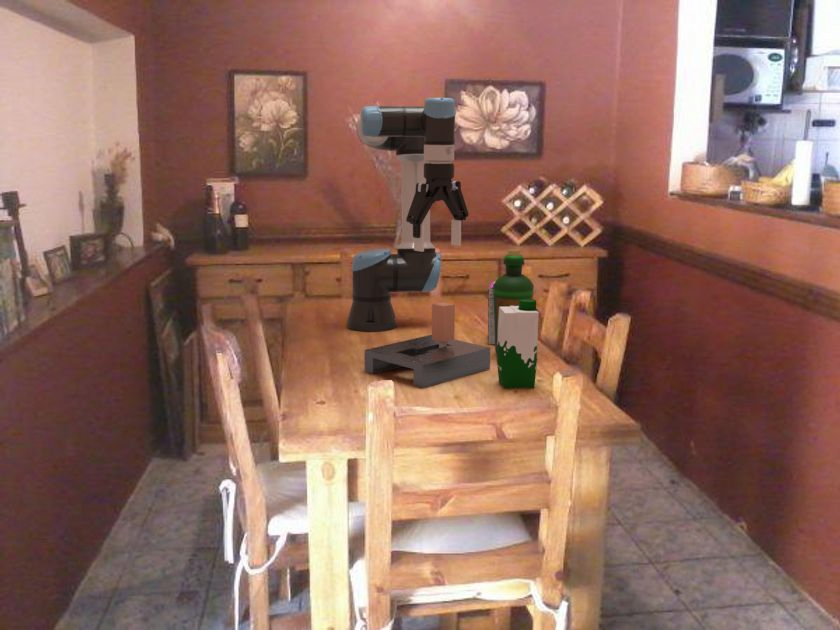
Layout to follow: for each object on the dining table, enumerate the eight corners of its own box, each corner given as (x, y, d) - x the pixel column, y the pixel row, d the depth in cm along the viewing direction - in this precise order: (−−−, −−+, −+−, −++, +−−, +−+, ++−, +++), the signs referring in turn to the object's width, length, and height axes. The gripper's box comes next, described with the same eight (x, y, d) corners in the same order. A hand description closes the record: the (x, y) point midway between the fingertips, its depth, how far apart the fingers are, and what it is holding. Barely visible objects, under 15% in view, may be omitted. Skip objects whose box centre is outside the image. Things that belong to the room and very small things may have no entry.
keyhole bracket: (364, 371, 207) (364, 349, 206) (432, 354, 224) (432, 334, 223) (422, 388, 193) (422, 365, 192) (489, 368, 210) (490, 347, 209)
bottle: (505, 361, 217) (508, 253, 211) (484, 352, 226) (486, 249, 221) (539, 357, 222) (543, 251, 216) (517, 348, 231) (519, 246, 225)
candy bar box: (491, 335, 246) (492, 280, 242) (508, 336, 245) (509, 281, 242) (486, 344, 235) (487, 287, 232) (504, 345, 234) (505, 287, 231)
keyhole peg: (429, 366, 212) (429, 304, 209) (442, 362, 216) (442, 301, 213) (443, 369, 209) (443, 306, 206) (456, 366, 212) (457, 304, 209)
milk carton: (539, 389, 193) (542, 303, 189) (500, 390, 192) (502, 304, 188) (531, 378, 202) (533, 296, 198) (493, 379, 201) (495, 297, 197)
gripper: (414, 164, 195) (413, 255, 200) (483, 161, 213) (481, 244, 218) (391, 163, 200) (391, 251, 205) (461, 160, 218) (459, 241, 223)
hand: (437, 248), depth 211 cm, fingers open, 13 cm apart
